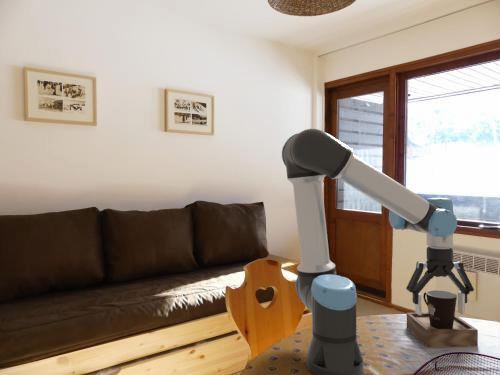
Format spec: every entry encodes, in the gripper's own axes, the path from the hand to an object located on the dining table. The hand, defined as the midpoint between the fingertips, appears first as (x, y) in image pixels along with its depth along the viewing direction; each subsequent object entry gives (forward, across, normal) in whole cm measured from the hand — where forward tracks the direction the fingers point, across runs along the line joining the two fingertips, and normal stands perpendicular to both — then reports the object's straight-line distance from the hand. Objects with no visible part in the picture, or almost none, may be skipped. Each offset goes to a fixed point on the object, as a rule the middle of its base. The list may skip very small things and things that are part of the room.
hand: (439, 313), depth 121 cm
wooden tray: (+7, 0, 0) cm, 7 cm away
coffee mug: (+4, 0, 0) cm, 4 cm away
